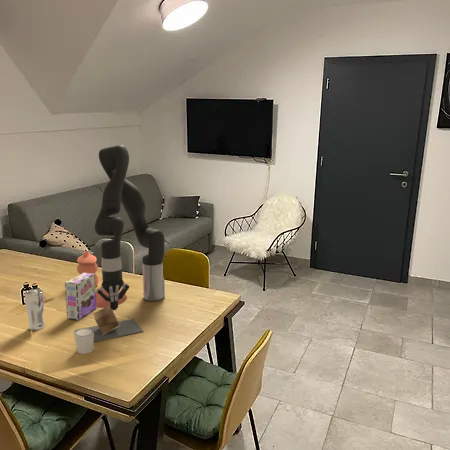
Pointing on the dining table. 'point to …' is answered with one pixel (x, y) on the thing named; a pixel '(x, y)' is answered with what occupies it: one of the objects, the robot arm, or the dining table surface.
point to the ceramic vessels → (90, 266)
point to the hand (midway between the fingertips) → (114, 309)
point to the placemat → (117, 330)
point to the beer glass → (35, 308)
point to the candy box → (80, 296)
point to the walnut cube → (106, 320)
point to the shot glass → (84, 340)
